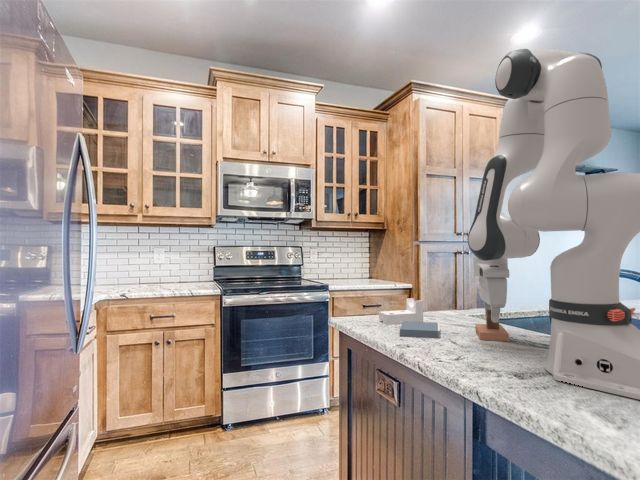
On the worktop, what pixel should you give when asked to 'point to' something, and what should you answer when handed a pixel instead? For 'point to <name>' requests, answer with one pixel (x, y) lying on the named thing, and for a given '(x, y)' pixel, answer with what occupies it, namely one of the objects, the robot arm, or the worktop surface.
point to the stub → (491, 330)
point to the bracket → (404, 313)
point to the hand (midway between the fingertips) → (492, 319)
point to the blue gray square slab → (420, 329)
